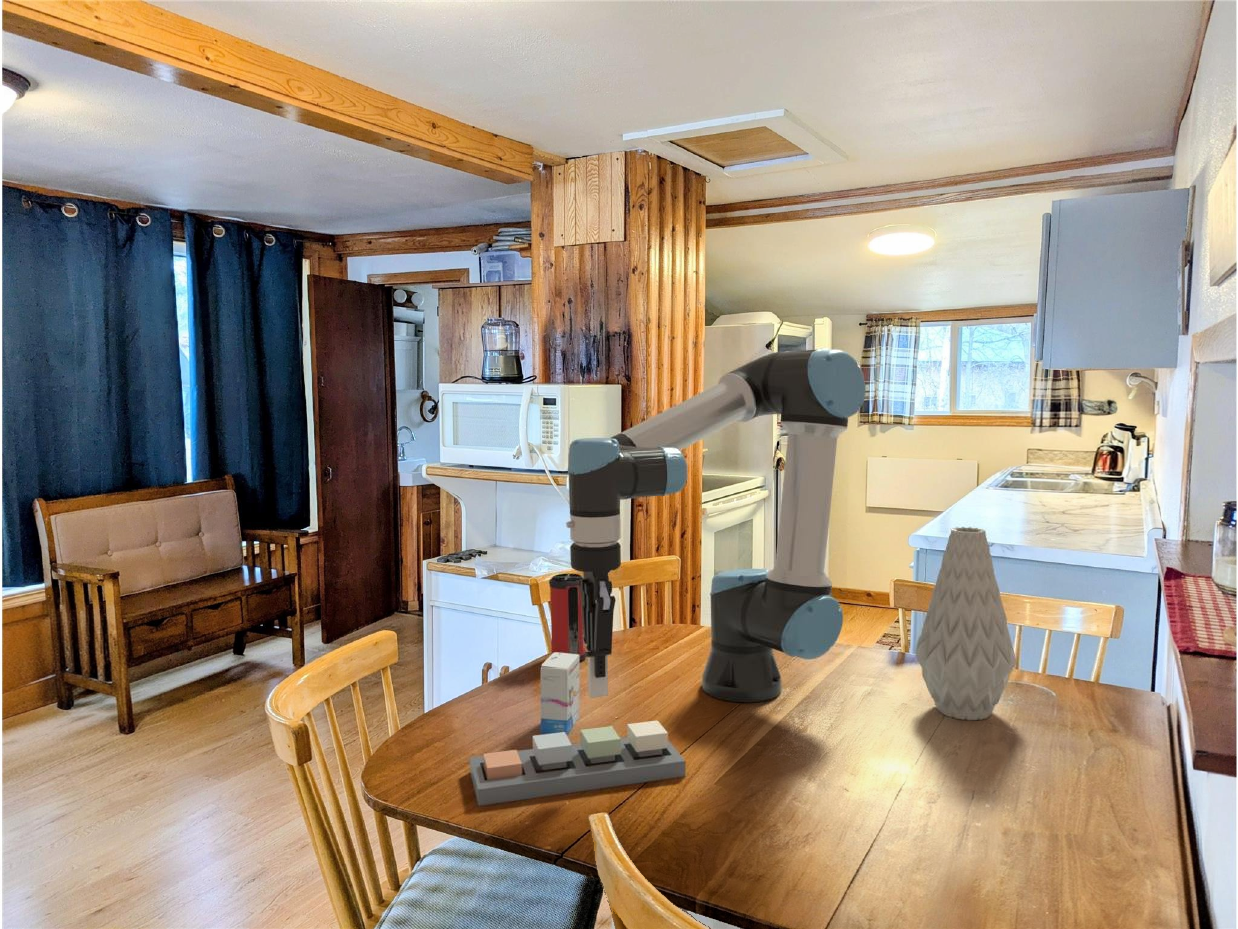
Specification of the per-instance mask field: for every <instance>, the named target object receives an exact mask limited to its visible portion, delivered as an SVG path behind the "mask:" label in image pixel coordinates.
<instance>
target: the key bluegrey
mask: <svg viewBox="0 0 1238 929" xmlns="http://www.w3.org/2000/svg"><path fill="white" fill-rule="evenodd" d="M572 744H573V743H571V740H570V739H569V737H568V735H566V733H565V732H560V733H552V734H537V735H532V749H533V753H534V755H535V757H536V760H537V762H538V764H539V765H541V767H542V769H543V770H542V771H546V770H555V769H562V768H568V766H567V761H572Z"/></svg>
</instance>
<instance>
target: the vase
mask: <svg viewBox="0 0 1238 929" xmlns="http://www.w3.org/2000/svg"><path fill="white" fill-rule="evenodd" d="M986 533H987V531H986V530H985V529H983V528H979V527H971V526H969V527H964V526H962V527H959V526H958V527H952V528H951V530H950V533H949V536H948V540H947V544H946V547H945V550H944V552H943V554H942V561H941V566H940V568H939V571H938V575H937V579H936V580H935V581H936V582H935V585H934V587H933V590H932V594H931V598H930V600H929V604H928V607H927V611H926V615H925V618H924V622H923V625H922V628H921V631H920V636H918V638H917V643H916V646H915V647H916V649H915V654H914V655H915V658H916V660H917V662H918V663H919V666H920V667H921V674H922V678H923V681H924V683H925V685H926V688H927V690H928V693H929V695H930V697H931V698H932V700H933V701H934V705H935V708H936V709H937V711H938V712H940V713H941V714H943V715H944V716H947V717H949V718H954V719H957V720H962V721H963V720H964V721H965V720H967V721H977V720H979V721H981V720H986V719H987V718H989V717H990V716H991V715H992V714H993V712H994V709H995V706H997V705H998V704H999V702H1000V700H1001V698H1002V695H1003V693H1004V691H1005V690H1006V687H1007V685H1008V683H1009V676H1010V674H1011V673H1012V671H1013V670H1014V668H1015V667H1016V665H1017V663H1018V662H1017V658H1016V654H1015V650H1014V646H1013V641H1012V639H1011V635H1010V632H1009V628H1008V618H1007V615H1006V612H1005V608H1004V605H1003V602H1002V597H1001V592H1000V587H999V585H998V582H997V579H996V576H995V568H994V564H993V558H992V555H991V552H990V551H991V549H990V544H989V542H988V538H987V534H986Z"/></svg>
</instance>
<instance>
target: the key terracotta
mask: <svg viewBox="0 0 1238 929" xmlns="http://www.w3.org/2000/svg"><path fill="white" fill-rule="evenodd" d="M517 751H518V749H510V750H503V751H497V752H487V753H486V752H485V753H483V754H482V755H483V759H484V772H485V775H486V777H485V778H486V780H492V779H499V778H507V777H514V776H522V763H521V760H520V758H519V755H518V752H517Z"/></svg>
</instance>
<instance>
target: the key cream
mask: <svg viewBox="0 0 1238 929" xmlns="http://www.w3.org/2000/svg"><path fill="white" fill-rule="evenodd" d="M626 727H627V728H626V733H627V736H626V737H627V739H628V741H629V742H630V743H631V745H632V746H633V748H634V750H635V751H636V753H637V754H638V755H639V757H638V758H644V757H651V756H658V755H660V754H662V749H663V748H668V740H669V733H668V731H667V730H666V729H665V727H664V726H663V725H662V723H660V722H659V720H652V721H651V720H650V721H643V722H642V721H641V722H635V723H627V725H626Z"/></svg>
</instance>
